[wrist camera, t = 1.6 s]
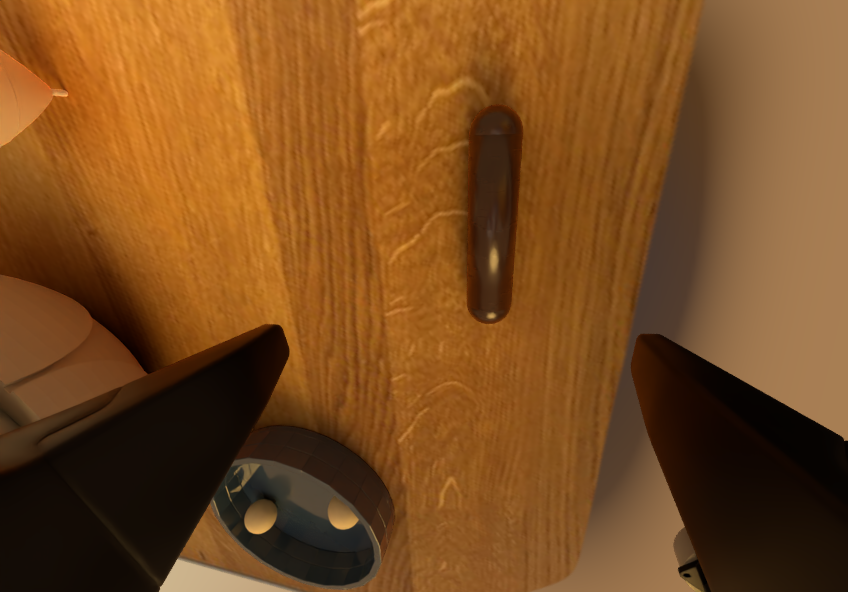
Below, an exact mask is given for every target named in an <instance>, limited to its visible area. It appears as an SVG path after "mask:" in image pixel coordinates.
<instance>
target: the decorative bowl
mask: <svg viewBox="0 0 848 592" xmlns="http://www.w3.org/2000/svg"><path fill="white" fill-rule="evenodd" d="M146 375H148V374H147V373H146V372H145V371H144V370H143V368H142V367H141V365H140V364H139V363H138V361H137V360H136V358H135V357H134V356H133V355H132V353H131V352H130V351H129V350H128V349H127V348H126V347H125V346H124V344H123V343H122V342H121V341H120V340H119V339H118V338H116V337H115V336H114V335H113V334H112V333H111V332H110V331H109V330H107V329H106V328H105V327H104V326H102V325H101V324H100V323H98V322H97V321H96V320H94V319H93V318H91V316H90V314H89V312H88V311H87V310H86V309H85V308H84V307H83V306H82V305H81V304H79V303H78V302H76V301H75V300H73V299H72V298H70V297H68V296H66V295H64V294H61V293H59V292H57V291H54V290H52V289H49V288H46V287H44V286H41V285H38V284H35V283H32V282H28V281H25V280H21V279H18V278H14V277H9V276H5V275H0V435H2V434H4V433H7V432H9V431H12V430H14V429H17V428H20V427H22V426H25V425H27V424H30V423H32V422H35V421H38V420H40V419H43V418H45V417H48V416H50V415H53V414H55V413H58V412H60V411H63V410H65V409H68V408H70V407H73V406H75V405H78V404H80V403H82V402H85V401H87V400H90V399H92V398H94V397H97V396H99V395H102V394H104V393H106V392H109V391H111V390H113V389H116V388H118V387H121V386H122V387H123V386H124V385H125V384H127V383H130V382H132V381H134V380H137V379H139V378H141V377H144V376H146Z"/></svg>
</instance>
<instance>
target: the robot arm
mask: <svg viewBox="0 0 848 592" xmlns="http://www.w3.org/2000/svg"><path fill="white" fill-rule="evenodd" d="M288 357H289V346H288V343H287V340H286V337H285V334H284V331H283V329H282V327H281V326H280V325H276V324H265V325H262V326H260V327H258V328H255V329H253V330H251V331H248V332H246V333H244V334H241V335H239V336H237V337H234V338H232V339H230V340H227V341H225V342H223V343H220V344H218V345H216V346H213V347H211V348H209V349H206V350H204V351H202V352H199V353H197V354H195V355H192V356H190V357H188V358H185V359H183V360H181V361H178V362H176V363H174V364H172V365H169V366H167V367H165V368H162V369H160V370H158V371H155V372H153V373H151V374H148V375H146V376H144V377H141V378H139V379H137V380H134V381H132V382H130V383H127V384H125V385H124V386H123V387H122V386H121V387H118V388H116V389H113V390H111V391H109V392H106V393H104V394H102V395H99V396H97V397H94V398H92V399H90V400H87V401H85V402H82V403H80V404H78V405H75V406H73V407H70V408H68V409H65V410H63V411H60V412H58V413H55V414H53V415H50V416H48V417H45V418H43V419H40V420H38V421H35V422H32V423H30V424H27V425H25V426H22V427H20V428H17V429H14V430H12V431H9V432H7V433H4V434H2V435H0V592H159V590H160V586H162V584H163V583H164V581H165V579H166V578H167V576H168V574H169V572H170V571H171V569H172V567H173V565H174V564H175V562H176V560H177V559H178V557H179V555H180V554H181V552H182V550H183V548H184V547H185V545H186V543H187V541H188V540H189V538H190V536H191V535H192V533H193V531H194V529H195V528H196V526H197V524H198V523H199V521H200V519H201V517H202V516H203V514H204V512H205V510H206V509H207V507H208V505H209V504H210V502H211V500H212V498H213V497H214V495H215V493H216V492H217V490H218V488H219V486H220V485H221V483H222V481H223V479H224V478H225V476H226V474H227V473H228V471H229V469H230V467H231V466H232V464H233V462H234V461H235V459H236V457H237V455H238V454H239V452H240V450H241V448H242V447H243V445H244V443H245V442H246V440H247V438H248V436H249V435H250V433H251V431H252V430H253V428H254V426H255V424H256V423H257V421H258V419H259V418H260V416H261V414H262V412H263V411H264V409H265V407H266V405H267V403H268V401H269V399H270V397H271V395H272V393H273V391H274V388H275V386H276V384H277V382H278V380H279V377H280V375H281V373H282V371H283V369H284V366H285V364H286V362H287V360H288ZM631 373H632V377H633V381H634V384H635V388H636V392H637V396H638V399H639V403H640V407H641V411H642V414H643V418H644V422H645V426H646V429H647V432H648V435H649V438H650V441H651V443H652V446H653V448H654V451H655V453H656V456H657V458H658V461H659V463H660V466H661V468H662V471H663V473H664V476H665V478H666V481H667V483H668V486H669V488H670V490H671V493H672V496H673V498H674V501H675V503H676V506H677V508H678V510H679V513H680V516H681V518H682V521H683V523H684V526H685V528H686V530H687V533H688V535H689V538H690V540H691V543H692V545H693V548H694V550H695V553H696V555H697V558H698V560H695V561H693V562H690V563H688V564H685V565H683V566H680V567H678V572H679V575H680V577H682V578H683V579H684V580H686V581H687V582H688V583H690V584H691V585H693V586H694V587H696V588H697V589H699V590H700V591H701V592H848V441H844V439H843V437H841V436H840V435H838V434H836V433H834V432H833V431H831V430H829V429H827V428H826V427H824V426H822V425H820V424H818V423H816V422H815V421H813V420H811V419H809V418H808V417H806V416H804V415H802V414H801V413H799V412H797V411H795V410H794V409H792V408H790V407H788V406H787V405H785V404H783V403H781V402H779V401H778V400H776V399H774V398H772V397H771V396H769V395H767V394H765V393H763V392H762V391H760V390H758V389H756V388H754V387H753V386H751V385H749V384H747V383H746V382H744V381H742V380H740V379H739V378H737V377H735V376H733V375H731V374H729V373H728V372H726V371H724V370H722V369H721V368H719V367H717V366H715V365H713V364H712V363H710V362H708V361H706V360H705V359H703V358H701V357H699V356H698V355H696V354H694V353H692V352H691V351H689V350H687V349H685V348H683V347H682V346H680V345H678V344H676V343H675V342H673V341H671V340H669V339H667V338H666V337H664V336H662V335H660V334H640V335H639V336H638V337H637V339H636V344H635V348H634V352H633V357H632V362H631Z"/></svg>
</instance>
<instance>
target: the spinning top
mask: <svg viewBox="0 0 848 592" xmlns="http://www.w3.org/2000/svg"><path fill="white" fill-rule="evenodd" d="M53 96H63V97H67V96H68V92H67V91H66V90H62V89H50V87H49V86H48V85H47V84H46V83H45V82H44V81H43V80H41V79H40V78H39V77H38V76H36V75H35V74H34V73H33V72H31V71H30V70H29V69H27V68H26V67H25V66H23V65H22V64H21V63H19V62H18V61H16V60H15V59H14V58H12V57H11V56H9V55H8V54H6V53H5V52H3V51H2V50H0V147H2V146H3V145H5V144H7V143H8V142H10V141H11V140H12V139H13V138H14V137H16V136H17V135H18V134H19V133H21V132H22V131H23V130H24V129H25V128H26V127H28V126H29V125H30V124H31V123H32V122H33V121H34V120H35V119H36V118H37V117H38V116H39V115H40V114H41V113H42V112H43V111H44V110H45V109H46V107H47V106H48V105H49V103H50V102H51V100H52V99H53Z"/></svg>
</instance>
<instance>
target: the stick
mask: <svg viewBox="0 0 848 592" xmlns="http://www.w3.org/2000/svg"><path fill="white" fill-rule="evenodd" d="M522 139H523V126H522V122H521V120H520V117H519V116H518V114H517V113H516V112H515V111H514V110H513V109H512V108H510V107H508V106H505V105H499V104H496V105H491V106H488V107H486V108H484V109H483V110H481V111H480V112H479V113H478V114H477V115H476V117H475V118H474V119H473V121H472V123H471V126H470V130H469V162H468V244H467V307H468V310H469V312H470V314H471V315H472V317H473V318H474V319H476V320H477V321H479V322H481V323H485V324H493V323H497V322H499V321H501V320H502V319H504V318H505V317H506V315H507V314H508V313H509V310H510V307H511V299H512V284H513V270H514V255H515V241H516V226H517V212H518V197H519V183H520V168H521V154H522Z"/></svg>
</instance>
